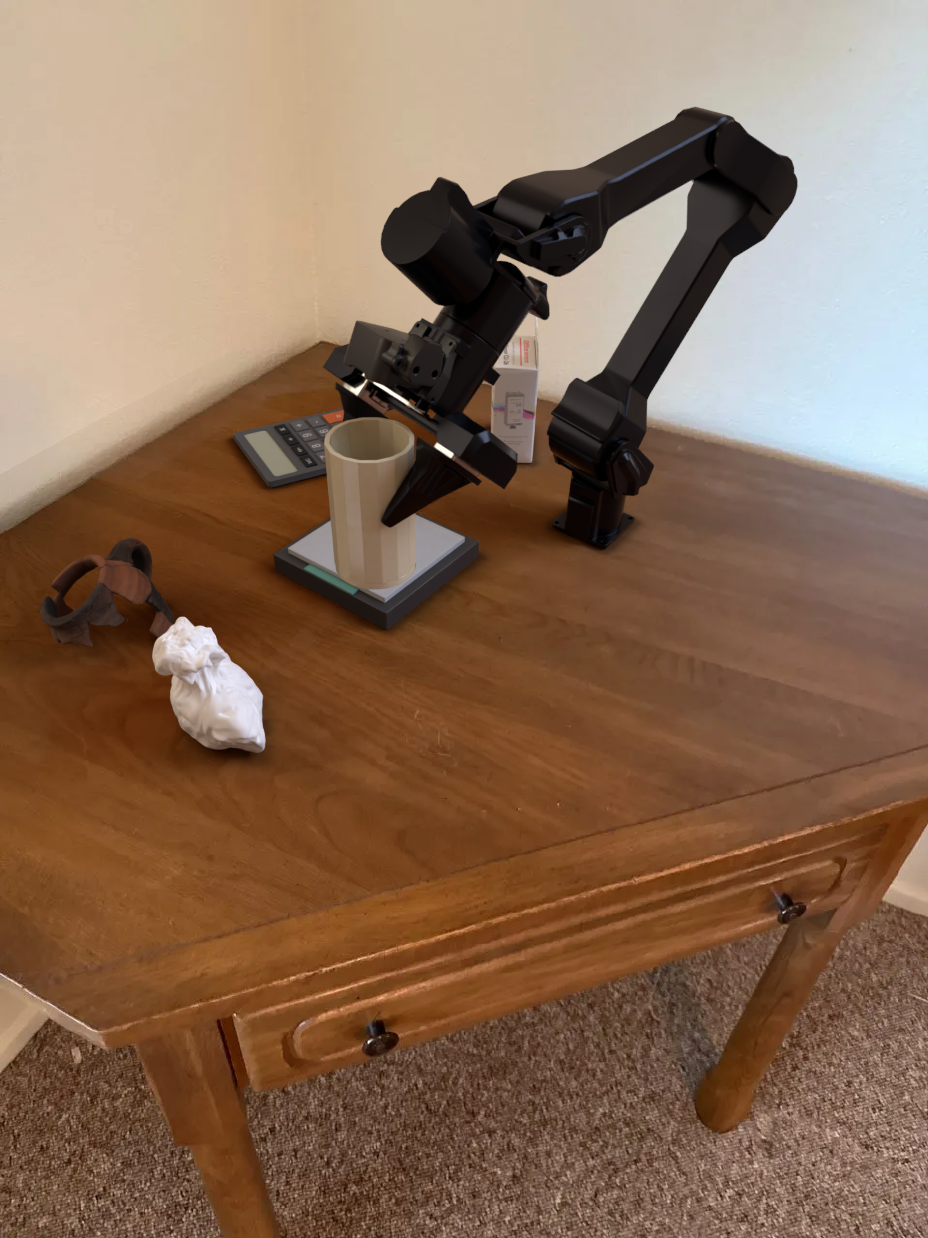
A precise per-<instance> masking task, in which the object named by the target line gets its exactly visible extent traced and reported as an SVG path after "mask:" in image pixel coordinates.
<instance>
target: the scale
mask: <svg viewBox="0 0 928 1238" xmlns="http://www.w3.org/2000/svg"><path fill="white" fill-rule="evenodd" d="M479 549H480V541H479V540H478V539H475V538H473V537H471V536H468V535H466V534H465V533H462V532H459V531H458V530H456V529H453V528H451V527H449V526H446V525H445V524H443V523H440V522H438V521H436V520H434V519H431V518H429V517H427V516H425V515H423V514H420V513H418V512H416V568H415V571H414V572H413V574H412V575H411V576H410V577H409V578H408V579H407V580H406V581H404V582H403V583H401V584H399V585H396V586H393V587H390V588H385V589H363V588H359V587H355V586H353V585H350V584H348V583H347V582H345V581H344V580H343V579H342V578H341V577H340V576H339V575H338V573H337V571H336V567H335V563H334V551H333V540H332V529H331V517H330V516H329V518H327V519H325V520H324V521H323V522H321V523H319V524H317V525H316V526H314V527H313V528H312V529H310V530H309V531H307V532H305V533H304V534H302V535H301V536H299V537H298V538H296V539H294V540H293V541H292V542H290V543H288V544H287V545H285V546H284V547H282V548H281V549H278V550H277V551H276V552H274V553H273V555H272V556H273V563H274V570H275V572H277V573H278V574H281V575H283V576H285V578H286V577H287V579H288V578H289V579H290V580H292V581H294V582H296V583H298V584H300V585H301V586H303V587H305V588H307V589H309V590H311V591H312V592H314V593H317V594H318V595H320V596H321V597H324V598H326V599H327V600H329V601H331V602H333V603H335V604H337V605H339V606H341V607H343V608H345V609H346V610H348V611H350V612H352V613H354V614H356V615H357V616H359V617H361V618H362V619H365V620H367V621H369V622H370V623H372V624H374V625H376V626H378V627H380V628H382V629H383V630H385V631H388V630H389V629H390V628H392V627H393V626H394V625H395V624H396V623H398V622H399V621H400V620H401V619H403V618H404V617H405V616H407V615H408V614H409V613H410V612H412V611H413V610H414V609H415V608H416V607H418V606H419V605H420V604H422V603H424V601H426V600H427V599H428V598H429V597H430V596H432V595H433V594H435V592H437V591H438V590H439V589H441V588H442V587H443V586H444V585H446V584H447V583H448V582H449V581H451V580H452V579H453V578H454V577H456V576H457V575H459V573H461V572H462V571H463V570H464V569H465V568H467V567H469V565H471V564H472V563H473V562H474V561H476V560H477V559H478V558H479Z"/></svg>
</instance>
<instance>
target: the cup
mask: <svg viewBox="0 0 928 1238" xmlns="http://www.w3.org/2000/svg"><path fill="white" fill-rule="evenodd" d="M324 449H325V460H326V472H327V473H326V480H327V493H328V504H329V518H330V517H331V529H332V540H333V551H334V563H335V567H336V571H337V573H338V575H339V576H340V577H341V578H342V579H343V580H344V581H345V582H347V583H348V584H350V585H353V586H355V587H359V588H363V589H385V588H390V587H393V586H396V585H399V584H401V583H403V582H404V581H406V580H407V579H408V578H409V577H410V576H411V575H412V574H413V572H414V571H415V568H416V513H417V512H416V513H415V514H413V515H411V516H410V517H408V518H406V519H405V520H403V521H401V522H400V523H398V524H397V525H395V526H393V527H391V528H389V527H387V526H385V525H384V524H382V523H381V519H382V517H383V515H384V513H385V511H386V509H387V507H388V505H389V503H390V501H391V500H392V498H393V496H394V495H395V493H396V492H397V490H398V488H399V487H400V485H401V484H402V482H403V480H404V479H405V477H406V476H407V474H408V472H409V471H410V469H411V468H412V466H413V464H414V462H415V458H416V446H415V434H414V433H413V432H412V430H411V429H410V427H408V426H407V425H405V424H403V423H401V422H399V421H398V420H395V419H390V418H389V419H385V418H380V417H363V418H357V419H352V420H347V421H345V422H342V423H340V424H338V425H336V426H334V427H333V428H332V429H331V430H330V431H329V432H328V433H327V434H326V435H325V441H324Z"/></svg>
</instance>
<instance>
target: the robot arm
mask: <svg viewBox="0 0 928 1238" xmlns="http://www.w3.org/2000/svg"><path fill="white" fill-rule="evenodd" d="M690 182H692V185H691V186H690V188H689V191H688V193H687V197H686V225H685V227H686V228H685V231H684V233H683V236H682V237H681V238H680V240H679V242H678V244H677V245H676V247H675V249H674V250H673V252H672V254H671V255H670V257H669V259H668V260H667V262H666V264H665V265H664V267H663V269H662V271H661V272H660V273H659V275H658V277H657V279H656V280H655V282H654V284H653V286H652V288H651V289H650V290H649V292H648V294H647V295H646V297H645V299H644V301H643V303H642V304H641V306H640V307H639V309H638V311H637V312H636V314H635V315H634V317H633V319H632V321H631V323H630V324H629V326H628V328H627V329H626V331H625V333H624V334H623V336H622V338H621V340H620V341H619V343H618V344H617V346H616V348H615V350H614V352H613V353H612V355H611V356H610V358H609V360H608V362H607V363H606V365H605V366H604V367H603V370H602V371H601V372H599V373H598V374H596V375H594V376H592V377H590V378H589V379H588V380H586V381H585V380H583V379H581V378H579V377H575V378H573V380H572V381H571V382H570V383H569V384H568V385H567V388H566V390H565V392H564V395H563V396H562V398H561V399H560V401H559V402H558V404H557V406H556V407H554V408H553V409H552V411H551V412H550V415H552V418H551V420H550V422H549V424H548V426H547V430H546V435H547V436H548V447H549V451H550V452H551V453H552V456H553V460H554V463H555V464H557V465H558V466H561V467H563V468H565V469H566V470H569V472H571V474H570V481H569V490H568V498H567V503H566V504H567V505H566V510H565V511H563V512H562V513H561V514H560V515H558V516H557V517H556V518H555V519H553V521H552V522H551V527H552V528H553V529H555V530H557V531H560V532H562V533H565V534H567V535H568V536H571V537H574V538H576V539H578V540H581V541H583V542H585V543H587V544H590V545H592V546H594V547H598V548H600V549H603V550H604V549H607V548H609V547H610V546H611V545H613V543H614V542H615V541H616V540H618V538H620V537H621V536H622V535H623V534H624V533H625V532H626V531H627V530H628V529H629V528H630V527H632V526H633V525H634V524H635V521H636V517H635V516H633V515H631V514H627V513H625V512H624V510H625V506H626V505H625V504H626V498H627V497H636V496H637V495H639V492H640V489H641V488H642V487H644V486H647V484H648V483H649V480H650V478H651V475H652V473H653V470H654V468H655V464H654V463H653V462H652V461H651V460H650V459H649V458H648V456H647V455H646V454H645V453H644V452H643V451H642V450H640V449H639V448H640V446H641V444H642V442H643V440H644V438H645V436H646V434H647V430H648V429H647V428H648V424H647V423H648V400H649V398H650V395H651V394H652V392H653V390H654V389H655V388H656V385H657V384H658V382H659V381H660V379H661V377H662V376H663V374H664V372H665V370H666V369H667V367H668V366H669V364H670V362H671V361H672V359H673V357H674V355H675V354H676V352H677V351H678V349H679V348H680V346H681V345H682V343H683V341H684V339H685V338H686V336H687V334H688V333H689V331H690V329H691V328H692V326H693V325H694V323H695V321H696V320H697V318H698V317H699V314H700V313H701V312H702V310H703V308H704V306H706V304H707V301H708V300H709V298H710V296H711V295H712V294H713V292H714V290H715V289H716V287H717V285H718V283H719V282H720V281H721V279H722V277H723V275H724V274H725V272H726V271H727V270H728V268H729V265H730V264H731V262H732V261H733V260H734V259H735V258H736V257H738V256H739V255H741V254H743V253H745V252H746V251H748V250H749V249H751V248H753V247H754V246H755V245H757V244H759V243H760V242H762V241H764V240H765V239H766V238H767V237H768V235H770V233H771V231H772V230H773V229H774V228H775V226H776V225H777V224H778V222H779V221H780V219H781V218H782V216H784V214H785V213H786V212H787V211H788V210H789V208H790V207H791V205H792V204H793V202H794V200H795V198H796V195H797V191H798V186H799V185H798V177H797V175H796V174H795V165H794V163H793V160H792V158H790V157H789V156H787V155H785V154H781V153H777V152H776V151H775V150H773V149H772V148H770V147H769V146H768V145H766V144H765V143H763V142H762V141H761V140H759V139H757V138H756V137H754V136H753V135H751V134H750V133H749V132H748V131H747V130H746V128H744V126H743V125H742V124H741V123H740V122H739V121H737V120H736V119H735V117H733V116H732V115H729V114H725V113H721V112H718V111H714V110H710V109H706V108H702V107H698V106H693V107H689V108H684V109H682V110H681V111H680V112H678V113H677V114H676V115H675V117H674V118H673V119H672V120H670V121H669V122H666V123H665V124H662V125H660V126H659V127H657V128H655V129H652V130H651V131H650V132H647V133H645V134H644V135H642V136H640V137H638V138H636V139H634V140H632V141H630V142H628V143H626V144H624V145H623V146H620V147H619V148H616V149H615V150H613V151H611V152H609V153H608V154H605V155H603V156H602V157H600V158H598V159H596V160H594V161H592V162H590V163H589V164H586V165H584V166H581V167H577V168H572V169H556V170H555V169H554V170H544V171H539V172H536V173H532V174H527V175H524V176H520V177H517V178H513V179H512V180H510V181H509V182H507V184H505V185H504V186H502V187H501V189H500V190H499V191H498V193H497V195H495V196H492V197H490V198H488V199H485V200H483V201H481V202H479V203H475V204H474V205H473V204H472V202H471V201H470V198H469V196H468V194H467V193H466V191H465V190H464V189H463V188H462V186H460V184H459V183H457V182H455V181H452V180H451V179H448V178H446V177H442V176H437V178H436V179H435V181H434V182H433V184H432V186H431V187H430V189H427V190H423V191H419V192H417V193H415V194H413V195H411V196H409V197H408V198H407V199H405V200H404V201H403V202H402V203H401V204H400V205H398V207H397V206H396V207H394V208H393V209H392V211H391V212H390V214H389V215H388V217H387V218H386V221H385V223H384V224H383V227H382V231H381V236H380V249H381V252H382V255H383V257H384V258H385V259H386V260H387V261H388V262H389V263H391V265H393V267H395V269H397V271H399V272H400V273H401V274H402V275H403V276H404V277H405V278H406V279H408V280H409V281H410V283H412V284H413V285H414V286H415V287H416V288H417V289H418V290H419V291H420V292H421V293H423V294H424V296H426V298H428V299H429V300H430V301H431V302H432V303H433V304H435V305H437V306H442V308H441V309H440V310H439V312H438V314H437V315H436V317H435V318H434V320H433V322H430V321H429V320H427V319H425V318H424V317H421V319H420V320H418V321H415V322H414V324H413V326H412V327H411V328H410V330H409V331H408V332H406V331H401V330H398V329H395V328H392V327H388V326H384V325H380V324H376V323H371V322H366V321H363V320H355V323H354V326H353V330H352V333H351V336H350V339H349V342H348V343H345V344H343V345H339V346H336V347H334V349H333V350H332V351H331V354H330V355H329V356H328V358H327V360H326V361H325V363H324V364H323V366H322V368H323V369H324V370H326V371H327V372H329V373H330V374H331V375H333V376H334V377H336V378H337V379H338V380H340V381H341V382H343V383H342V385H341V384H340V383H339V382H337V381H335V382H334V389H335V390H336V391H337V392H338V393H339V397H340V401H341V405H342V408H343V410H344V416H343V422H345V421H347V420H352V419H357V418H363V417H380V418H385V419H390V418H389V417H388V416H386V414H387V412H390V411H393V410H395V411H397V413H400V414H401V415H402V416H404V417H406V418H408V419H409V420H411V421H412V422H413V423H414V424H417V425H418V426H419V427H421V428H423V429H424V430H426V431H427V432H429V433H430V434H432V435H433V436H435V438H436V441H435V442H434V444H433V445H431V444H430V443H429V442H427V441H426V440H424V439H423V438H422V437H420V436H416V438H415V439H416V443H415V462H414V464H413V466H412V468H411V469H410V471H409V472H408V474H407V476H406V477H405V479H404V480H403V482H402V484H401V485H400V487H399V488H398V490H397V492H396V493H395V495H394V496H393V498H392V500H391V501H390V503H389V505H388V507H387V509H386V511H385V513H384V515H383V517H382V519H381V523H382V524H384V525H385V526H387V527H389V528H391V527H393V526H395V525H397V524H398V523H400V522H401V521H403V520H405V519H406V518H408V517H410V516H411V515H413V514H415V513H418V512H420V511H421V510H422V509H425V508H426V507H428V506H429V505H431V504H433V503H435V502H436V501H438V500H440V499H442V498H443V497H445V496H448V495H449V494H452V493H454V492H457V490H460V489H462V488H464V487H467V486H468V485H470V484H473V485H475V486H477V487H479V486H480V485H481V484H482V482H483V480H481V479H480V478H478V476H479V475H481V476H483V477H485V478H486V479H487V480H489V481H491V482H492V483H493V484H495V485H496V486H498V487H499V488H501V489H502V490H506V488H507V486H508V485H509V484H510V482H511V480H513V477H514V476H515V474H516V473H517V470H518V463H517V460H518V454H517V453H516V452H515V451H514V450H512V449H511V448H510V447H509V446H507V445H506V444H505V443H504V442H503V441H501V440H500V439H499V438H498V437H496V436H495V435H494V434H493V433H491V430H489V429H487V428H486V427H484V426H482V425H481V424H480V423H478V422H477V421H474V420H473V419H471V417H470V416H467V414H466V413H464V411H465V410H466V408H467V407H468V405H469V404H470V402H471V401H472V399H473V398H474V397H475V395H476V394H477V392H478V391H479V389H480V387H481V386H482V385H483V383H484V382H485V383H487V384H489V385H490V386H492V385H493V386H494V384H495V383H496V381H497V380H498V378H499V377H500V374H499V373H498V372H497V371H496V370H494V369H493V366H494V365H495V363H496V362H497V360H498V359H499V356H501V354H502V353H503V351H504V350H505V348H506V347H507V345H508V344H509V342H510V341H511V339H512V337H513V336H514V335H515V334H516V333H517V332H518V330H519V328H520V327H521V326H522V325H523V322H524V321H525V319H526V318H527V316H528V315H529V314H530V315H532V316H534V317H535V316H536V317H537V319H540V320H542V321H547V320H548V319H549V318H550V316H551V315H550V314H551V312H550V311H551V309H550V302H549V300H548V289H549V286H548V285H549V284H548V283H547V282H544V281H542V280H540V279H538V278H536V277H534V276H531V275H528V276H526V275H525V273H524V272H523V271H522V270H521V269H520V268H519V267H518V266H517V265H516V264H514V263H512V262H510V261H507V260H498V259H499V257H500V255H504V256H506V257H508V258H510V259H512V260H514V261H517V262H519V263H521V264H523V265H525V266H528V267H529V268H532V269H536V270H537V271H539V272H542V273H544V274H546V275H548V276H552V277H554V278H561V277H564V276H566V275H569V274H571V273H572V272H574V271H575V270H577V268H578V267H580V266H581V265H582V264H584V263H585V262H586V261H588V259H590V258H591V257H592V256H593V255H595V254H596V253H597V252H598V251H599V250H601V248H602V247H603V245H604V242H605V240H606V237H607V235H608V233H609V230H610V229H611V228H612V227H613V226H615V225H616V224H617V223H619V222H620V221H622V220H624V219H626V218H627V217H629V216H631V215H633V214H634V213H636V212H638V211H640V210H641V209H644V208H645V207H647V206H649V205H651V204H653V203H654V202H656V201H657V200H659V199H661V198H663V197H665V196H666V195H668V194H670V193H672V192H674V191H675V190H677V189H679V188H680V187H683V186H684V185H686V184H688V183H690ZM410 401H412V402H410ZM413 402H414V404H413ZM430 411H431V412H433V413H434V414H435V415H434V416H433V417H431V415H430V414H429V412H430Z"/></svg>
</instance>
